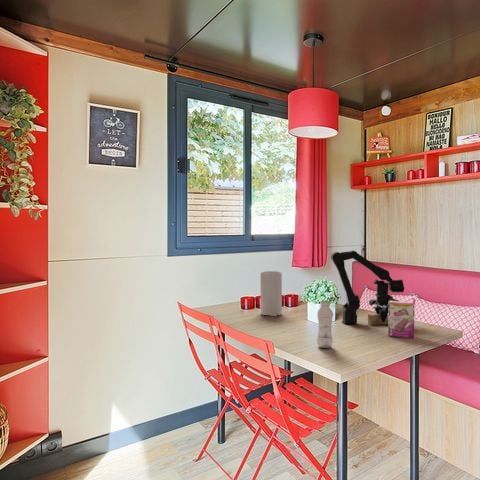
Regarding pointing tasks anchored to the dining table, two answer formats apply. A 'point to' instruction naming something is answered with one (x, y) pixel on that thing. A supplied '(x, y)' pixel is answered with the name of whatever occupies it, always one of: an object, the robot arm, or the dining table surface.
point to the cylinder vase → (271, 293)
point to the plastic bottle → (324, 325)
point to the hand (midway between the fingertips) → (382, 321)
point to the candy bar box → (401, 319)
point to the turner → (376, 319)
